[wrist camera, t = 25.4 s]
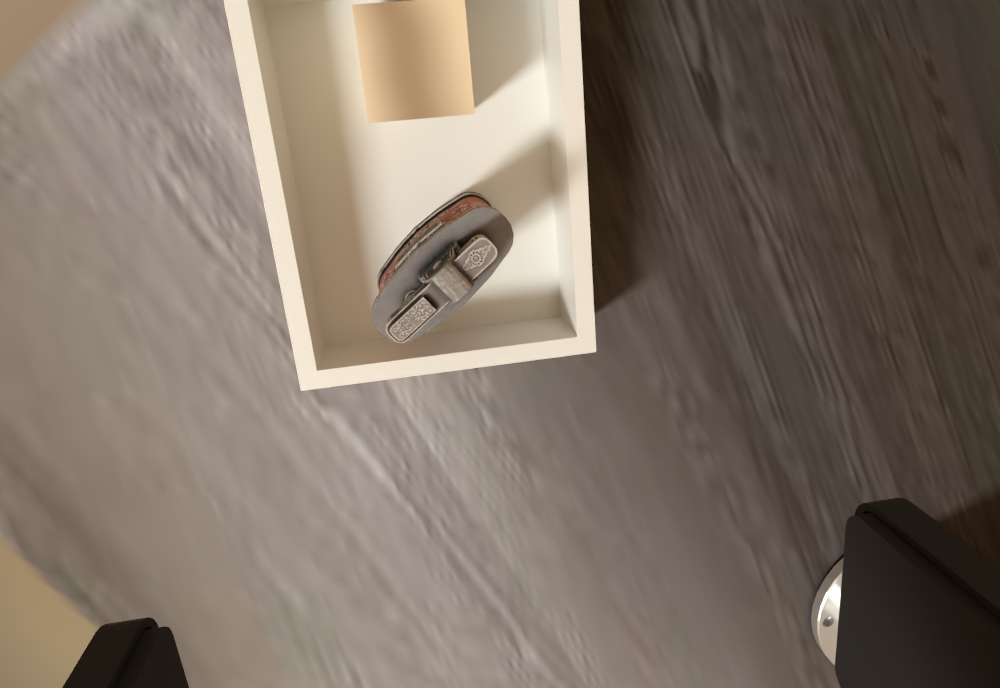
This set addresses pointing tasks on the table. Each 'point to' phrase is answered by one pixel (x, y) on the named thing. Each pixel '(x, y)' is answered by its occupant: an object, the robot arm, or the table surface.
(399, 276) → the lighter
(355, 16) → the cube
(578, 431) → the table surface
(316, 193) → the tote
